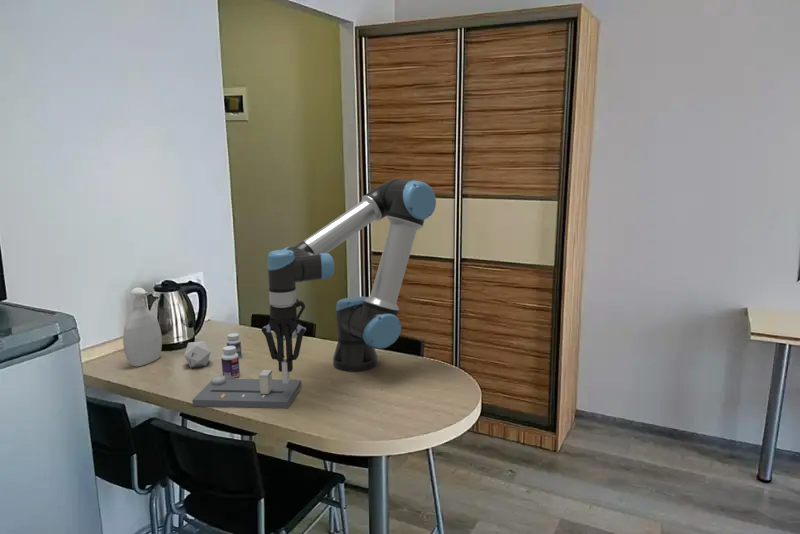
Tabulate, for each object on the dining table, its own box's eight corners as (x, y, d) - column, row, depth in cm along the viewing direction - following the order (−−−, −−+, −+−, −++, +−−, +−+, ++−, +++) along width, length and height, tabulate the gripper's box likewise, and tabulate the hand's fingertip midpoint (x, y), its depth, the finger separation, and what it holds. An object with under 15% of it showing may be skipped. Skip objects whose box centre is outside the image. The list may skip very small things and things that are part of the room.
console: (301, 386, 186) (300, 375, 185) (287, 408, 170) (286, 396, 169) (214, 384, 188) (213, 373, 187) (192, 406, 172) (191, 394, 172)
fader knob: (272, 388, 178) (271, 370, 177) (268, 394, 174) (267, 375, 173) (264, 388, 179) (263, 369, 177) (260, 393, 175) (258, 375, 173)
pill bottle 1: (229, 360, 208) (227, 337, 207) (226, 356, 212) (224, 334, 211) (243, 358, 210) (241, 335, 209) (240, 354, 215) (238, 331, 213)
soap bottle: (136, 372, 199) (127, 294, 193) (120, 368, 203) (111, 291, 197) (171, 358, 211) (164, 284, 206) (156, 354, 215) (149, 282, 210)
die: (179, 367, 205) (177, 351, 197) (194, 348, 211) (192, 331, 204) (202, 376, 204) (200, 360, 197) (215, 357, 210) (215, 340, 203)
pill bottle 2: (235, 379, 191) (232, 351, 189) (219, 378, 192) (217, 350, 190) (242, 373, 197) (240, 345, 195) (227, 372, 198) (225, 344, 196)
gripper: (308, 301, 174) (310, 377, 178) (264, 300, 175) (268, 376, 179) (302, 308, 166) (305, 387, 171) (256, 307, 167) (260, 385, 172)
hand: (286, 381), depth 175 cm, fingers closed
